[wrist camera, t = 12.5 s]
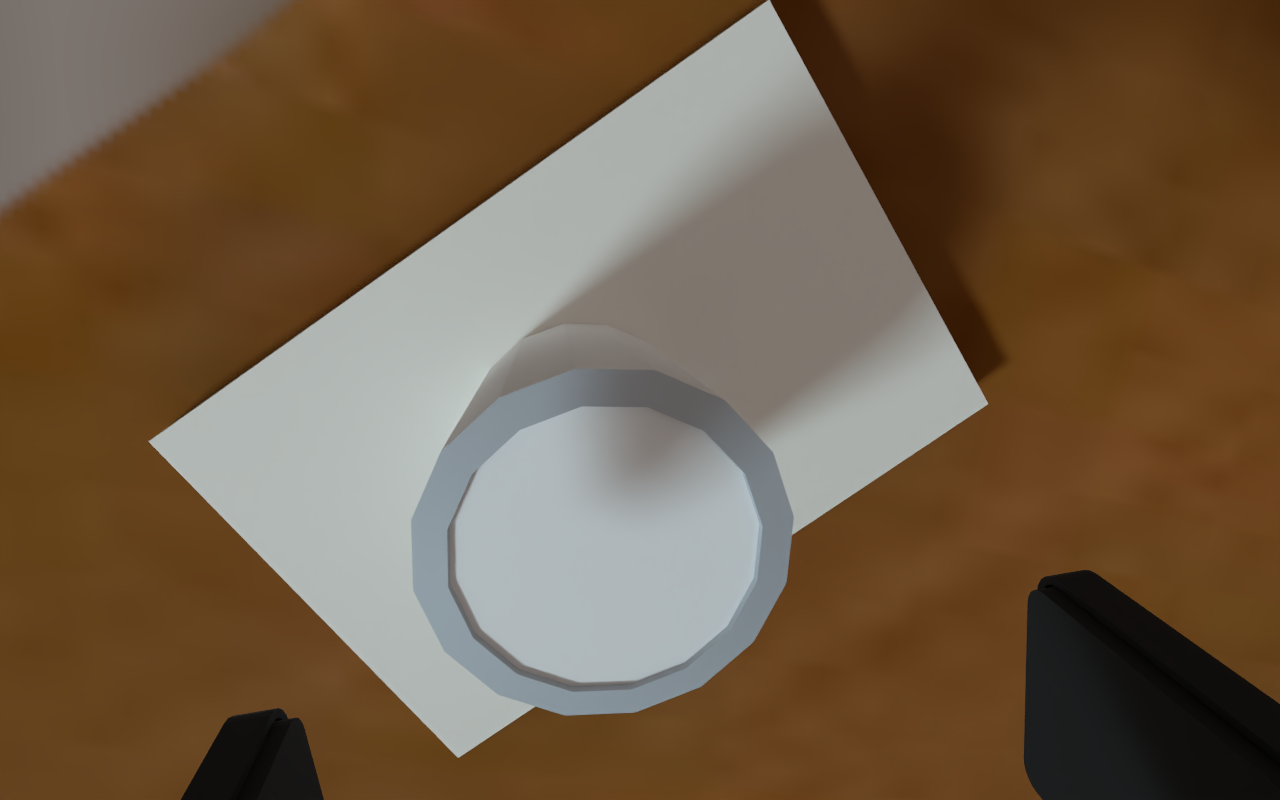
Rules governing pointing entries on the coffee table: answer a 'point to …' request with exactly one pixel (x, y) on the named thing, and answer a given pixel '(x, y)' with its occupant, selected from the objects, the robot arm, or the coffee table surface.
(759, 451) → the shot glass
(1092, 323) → the coffee table surface
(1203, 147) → the coffee table surface
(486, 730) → the ceramic tile
